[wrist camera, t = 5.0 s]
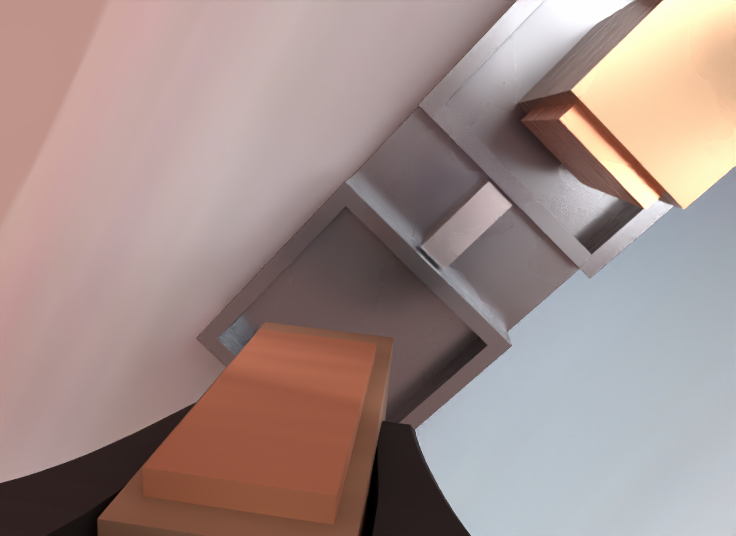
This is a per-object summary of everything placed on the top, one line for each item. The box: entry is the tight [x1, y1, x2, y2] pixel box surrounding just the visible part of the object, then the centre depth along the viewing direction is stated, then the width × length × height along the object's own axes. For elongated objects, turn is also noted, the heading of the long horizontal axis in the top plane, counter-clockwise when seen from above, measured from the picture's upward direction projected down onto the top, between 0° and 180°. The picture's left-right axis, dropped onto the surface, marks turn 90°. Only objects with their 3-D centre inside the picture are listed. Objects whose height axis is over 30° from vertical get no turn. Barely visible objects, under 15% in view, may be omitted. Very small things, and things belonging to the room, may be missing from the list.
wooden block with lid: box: [97, 322, 394, 536], centre depth 10 cm, size 3×3×7 cm
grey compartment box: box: [196, 0, 736, 430], centre depth 15 cm, size 7×17×8 cm, turn 136°
